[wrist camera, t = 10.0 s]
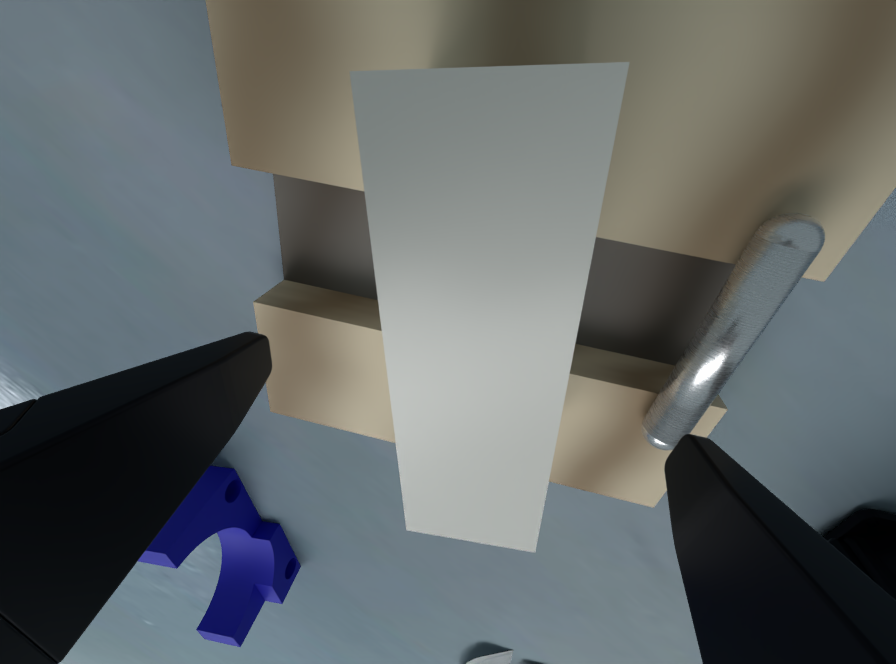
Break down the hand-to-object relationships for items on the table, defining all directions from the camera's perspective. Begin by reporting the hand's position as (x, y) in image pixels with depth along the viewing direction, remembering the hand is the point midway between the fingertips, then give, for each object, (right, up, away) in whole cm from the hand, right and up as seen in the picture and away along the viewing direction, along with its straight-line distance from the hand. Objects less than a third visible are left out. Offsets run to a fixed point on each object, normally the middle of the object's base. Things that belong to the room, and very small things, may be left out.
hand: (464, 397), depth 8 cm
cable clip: (-15, -13, +21) cm, 29 cm away
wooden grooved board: (+2, +4, +7) cm, 8 cm away
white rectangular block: (+1, +3, +5) cm, 5 cm away
